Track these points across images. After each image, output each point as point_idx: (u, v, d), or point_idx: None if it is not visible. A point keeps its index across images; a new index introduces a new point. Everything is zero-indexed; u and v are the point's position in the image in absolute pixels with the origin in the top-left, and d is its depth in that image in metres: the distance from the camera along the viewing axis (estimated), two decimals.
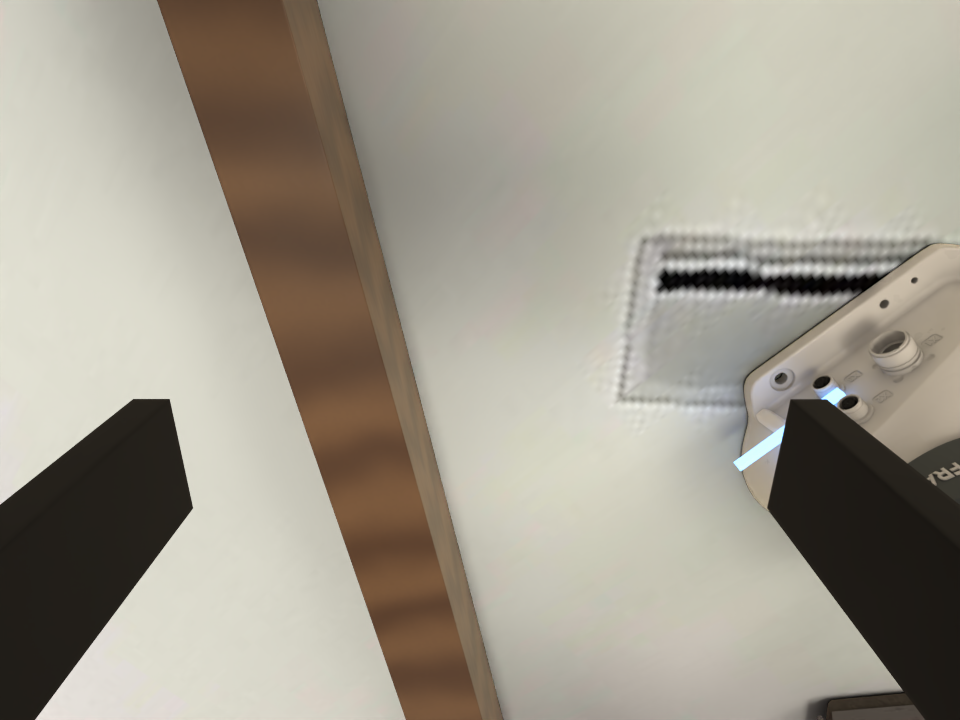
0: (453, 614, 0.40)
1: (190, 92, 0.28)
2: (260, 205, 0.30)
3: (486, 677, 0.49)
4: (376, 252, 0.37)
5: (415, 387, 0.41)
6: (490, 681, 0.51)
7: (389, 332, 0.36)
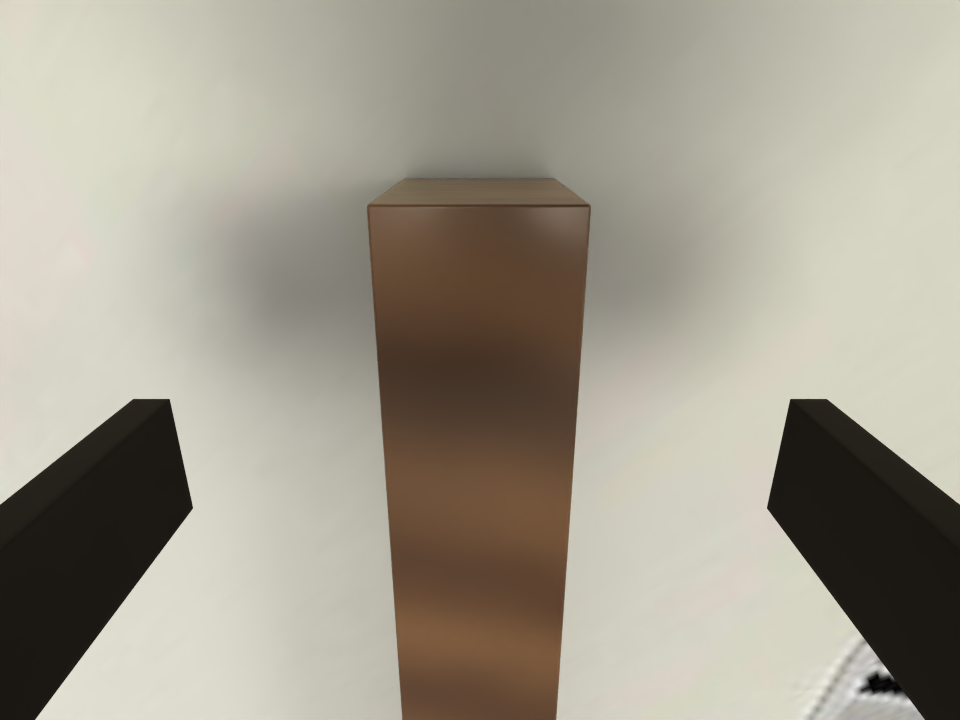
0: None
1: (391, 525, 0.18)
2: (446, 660, 0.20)
3: None
4: None
5: None
6: None
7: None
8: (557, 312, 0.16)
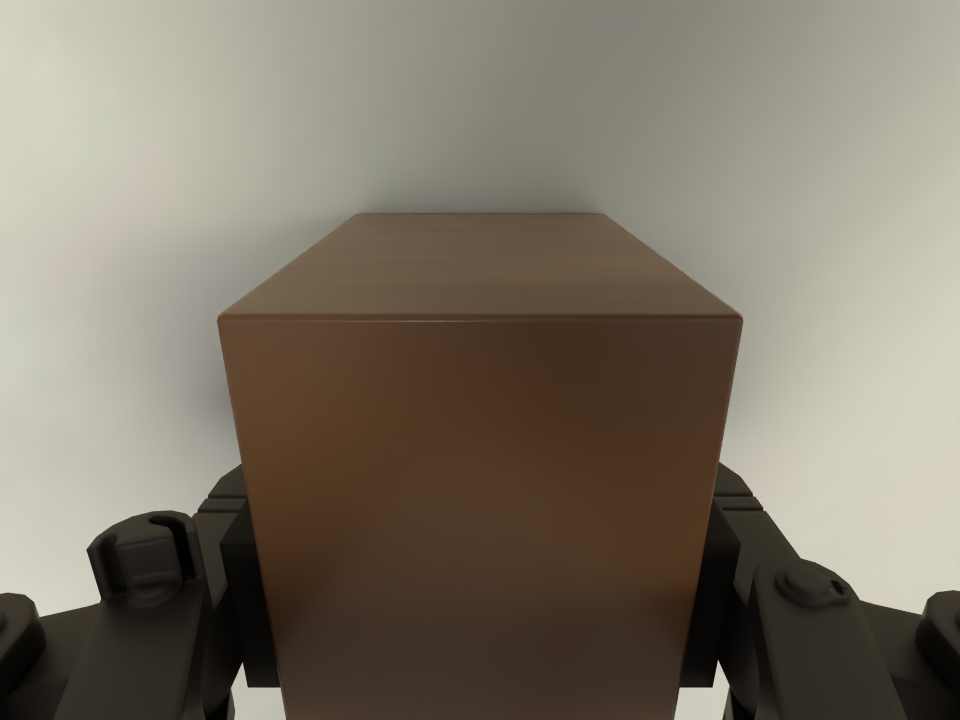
0: None
1: None
2: None
3: None
4: None
5: None
6: None
7: None
8: (650, 534, 0.07)
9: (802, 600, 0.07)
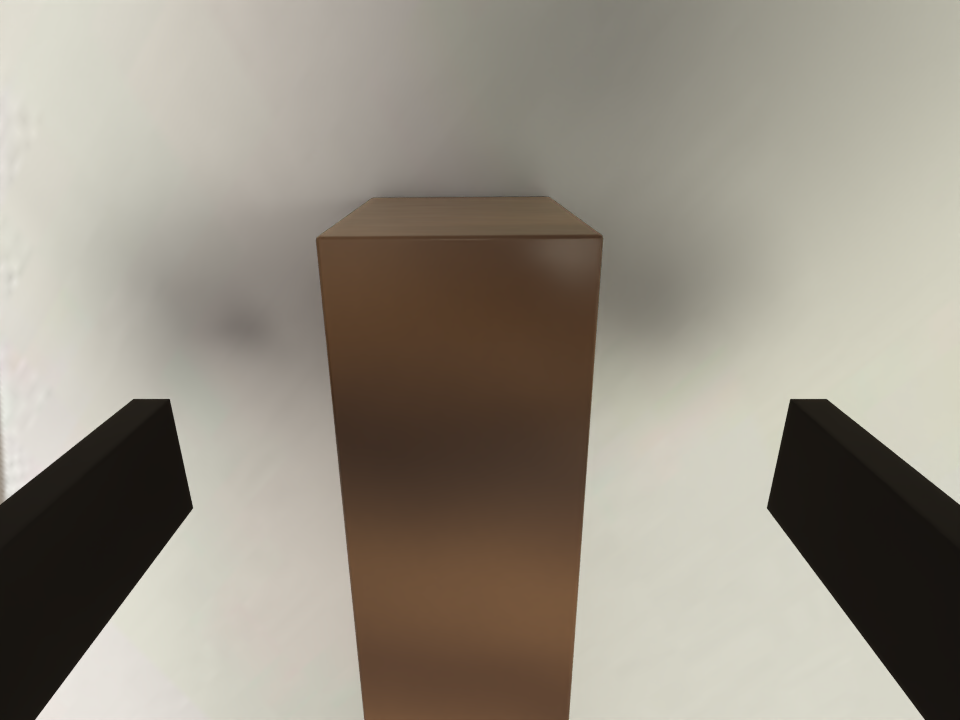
0: None
1: (358, 625, 0.15)
2: None
3: None
4: None
5: None
6: None
7: None
8: (560, 368, 0.12)
9: None
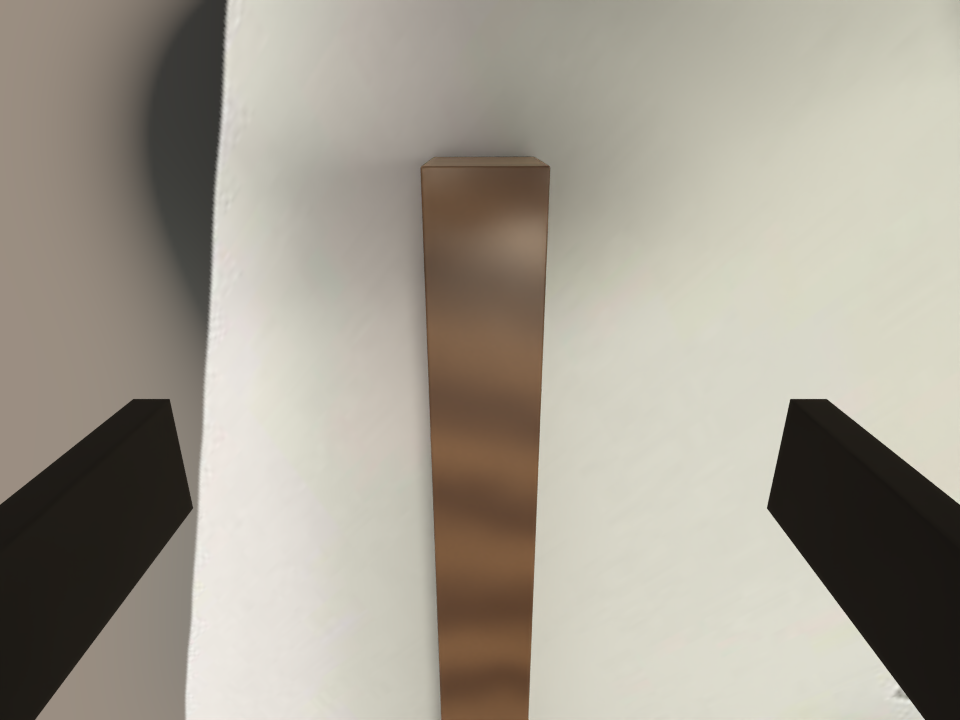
0: None
1: (430, 372, 0.29)
2: (463, 471, 0.31)
3: None
4: None
5: None
6: None
7: None
8: (532, 231, 0.27)
9: None
